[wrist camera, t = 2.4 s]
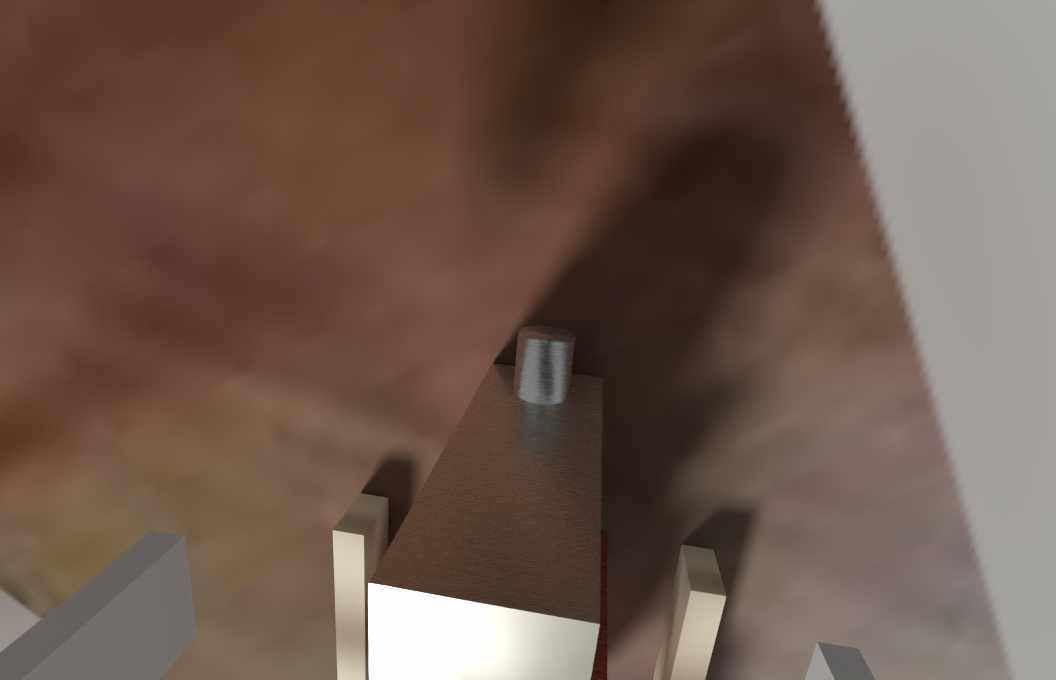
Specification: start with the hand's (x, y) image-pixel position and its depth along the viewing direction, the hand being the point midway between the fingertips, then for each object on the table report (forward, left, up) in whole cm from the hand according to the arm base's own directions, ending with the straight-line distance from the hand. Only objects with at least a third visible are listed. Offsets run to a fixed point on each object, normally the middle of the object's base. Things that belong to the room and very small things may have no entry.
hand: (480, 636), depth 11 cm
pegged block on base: (0, 0, -10) cm, 10 cm away
